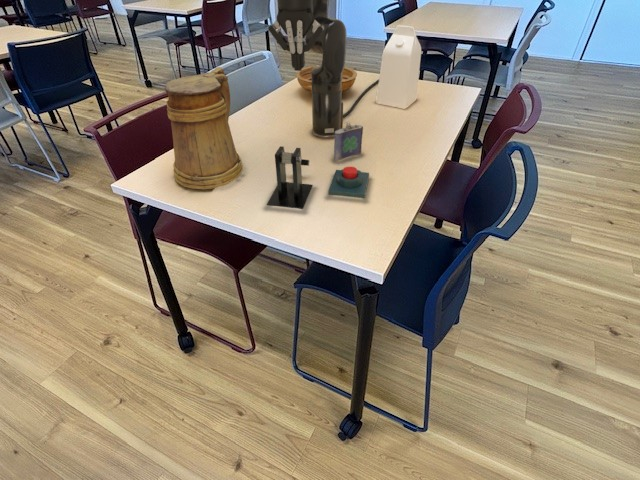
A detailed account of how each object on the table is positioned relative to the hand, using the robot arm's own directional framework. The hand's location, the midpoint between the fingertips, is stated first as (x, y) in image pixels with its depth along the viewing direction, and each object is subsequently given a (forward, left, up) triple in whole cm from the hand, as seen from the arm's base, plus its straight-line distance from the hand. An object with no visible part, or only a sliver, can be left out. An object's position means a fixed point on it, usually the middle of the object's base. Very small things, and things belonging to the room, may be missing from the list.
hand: (298, 69), depth 90 cm
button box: (-2, +16, -26) cm, 31 cm away
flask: (-14, +4, -27) cm, 30 cm away
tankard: (+18, -17, -27) cm, 36 cm away
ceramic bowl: (-49, -40, -27) cm, 69 cm away
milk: (-62, -15, -27) cm, 69 cm away
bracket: (+12, +9, -26) cm, 30 cm away
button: (-2, +16, -23) cm, 28 cm away
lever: (+9, +7, -19) cm, 22 cm away
